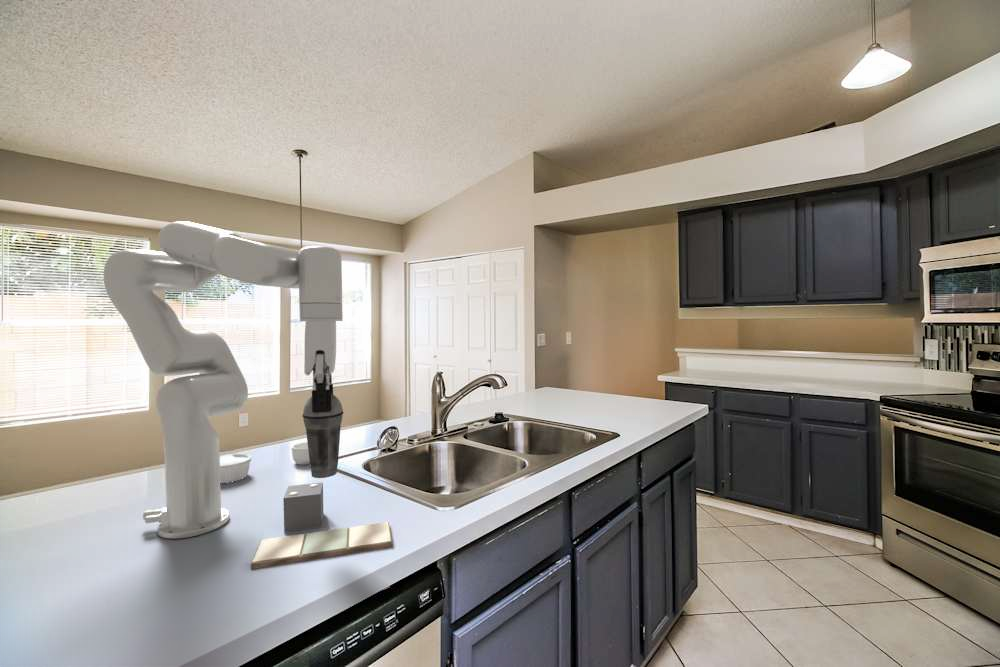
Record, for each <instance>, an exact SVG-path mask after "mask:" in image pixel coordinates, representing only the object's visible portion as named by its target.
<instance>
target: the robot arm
mask: <svg viewBox="0 0 1000 667" xmlns="http://www.w3.org/2000/svg"><path fill="white" fill-rule="evenodd" d="M157 241H158V245H159V247H160V249H161V251H156V250H149V249H138V248H137V249H134V248H132V249H131V248H130V249H122V250H119V251H116V252H114V253H112V254H111V255H110V256H109V257H108V258H107V260H106V261H105V264H104V267H103V268H104V269H103V284H104V285H103V286H104V288H105V292H106V293H107V296H108V298H109V300H110V301H111V303H112V305H113V306H114V307H115V309H116V310H117V311H118V312H119V314H120V315H121V316H122V318H123V320H124V321H125V322H126V324H127V327H128V328H129V329H130V333H131V335H132V337H133V340H134V341H135V343H136V345H137V348H138V349H139V351H140V353H141V355H142V357H143V360H144V361H145V363H146V366H147V367H148V368H149V370H150V371H151V372H152V373H153V374H155V375H157V376H161V377H172V376H179V377H177V378H173V379H170V380H168V381H167V382H166V383H164V384H163V385H162V386H161V387H160V388H159V390H158V391H157V394H156V398H155V401H156V403H155V404H156V408H157V413H158V416H159V421H160V424H161V430H162V436H163V452H164V454H163V455H164V472H165V474H164V475H165V477H164V478H165V503H166V504H165V505H166V506H163V507H162V508H159V509H155V508H154V509H147V510H144V512H143V515H142V520H143V521H144V522H145V524H150V523H157V522H158V523H159V524H158V526H157V535H158V536H159V537H161V538H164V539H175V540H176V539H184V538H191V537H196V536H199V535H203V534H206V533H210V532H212V531H214V530H216V529H219V528H221V527H222V526H224V525H225V524H226V523H227V522H228V521H229V520H230V515H231V514H230V511H229V510H228V509H227V508H224V507H222V498H221V497H222V495H221V494H222V493H221V484H220V456H221V455H220V439H219V436H218V433H217V431H216V429H215V428H214V427H213V425H212V424H211V423H210V420H209V419H211V418H213V417H218V416H222V415H225V414H230V413H233V412H235V411H238V410H240V409H242V407H243V406H245V404H246V403H247V400H248V397H249V389H248V384H247V381H246V379H245V377H244V374H243V373H242V371H241V368H240V367H239V365H238V362H237V360H236V359H235V357H234V354H233V353H232V351H231V349H230V348H229V345H228V344H227V342H226V341H225V339H224V338H222V337H221V336H220V335H219V334H218V333H215V332H213V331H210V330H188V329H186V328H184V327H183V325H182V324H181V322H180V320H179V318H178V316H177V313H176V312H175V311H174V309H173V308H172V307H171V306H170V305H169V304H168V302H166V301H165V300H163V299H162V298H161V297H159V296H158V295H157V294H155V292H154V291H158V292H171V293H173V292H174V293H191V292H193V291H197V290H199V289H200V288H203V287H204V286H205V285H206V284H207V283H208V282H210V281H211V280H213V279H214V278H215V277H217V276H218V275H220V276H223V277H224V278H225V277H226V278H229V279H232V280H236V281H240V282H244V283H248V284H252V285H256V286H261V287H276V288H277V287H278V288H287V289H298V297H299V298H298V300H299V301H298V302H299V304H298V306H299V322H305V325H304V369H303V370H304V375H305V376H310V375H311V374H312V390H311V397H312V412H313V413H319V412H330V411H331V394H333V395H334V383H333V379H332V378H333V377H332V374H333V373H334V372H335V369H336V368H335V367H336V360H337V358H336V357H337V322H343V320H344V319H343V318H344V317H343V276H342V275H343V274H342V271H343V270H342V268H343V267H342V266H343V265H342V254H341V252H340V251H339V250H338V249H337V248H334V247H330V246H322V245H313V246H312V245H311V246H310V245H309V246H305V247H302V248H301V249H299V250H297V249H293V248H288V247H284V246H278V245H274V244H268V243H262V242H259V241H253V240H249V239H244V238H242V236H241V235H239V234H238V233H236V232H233V231H229V230H224V229H222V228H218V227H215V226H214V227H213V226H209V225H205V224H200V223H195V222H191V221H181V220H180V221H173V222H171V223H168V224H166V225H164V226H163V227H162V228H161V230H159V233H158V237H157ZM197 373H198V374H197ZM182 375H186V376H182Z"/></svg>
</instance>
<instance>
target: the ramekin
mask: <svg viewBox="0 0 1000 667" xmlns="http://www.w3.org/2000/svg"><path fill="white" fill-rule="evenodd" d="M251 461H252V457H251V455H248V454H244V453H232V454H224V455H220V483H227V482H232V481H236V480H239V479H242V478H244V477H245V478H246V477H247V476H248V475H249V471H250V466H251V465H250V464H251ZM245 478H244V479H245ZM242 480H243V479H242ZM239 481H240V480H239ZM236 482H237V481H236ZM232 483H233V482H232ZM227 484H228V483H227Z"/></svg>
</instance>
